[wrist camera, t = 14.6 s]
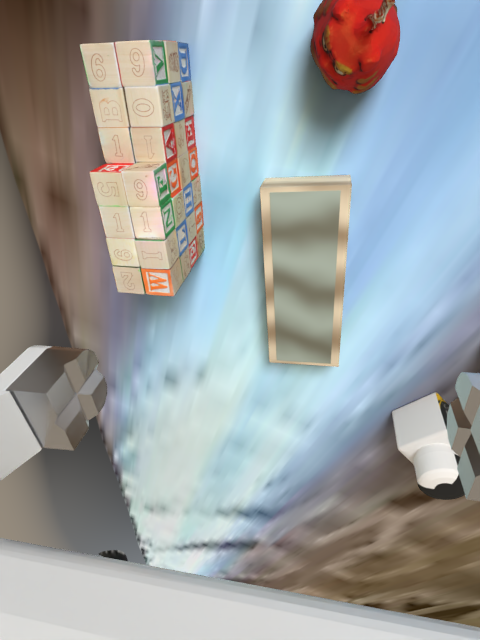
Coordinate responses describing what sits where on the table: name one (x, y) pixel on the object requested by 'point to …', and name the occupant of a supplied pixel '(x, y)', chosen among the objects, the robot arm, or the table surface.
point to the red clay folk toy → (355, 42)
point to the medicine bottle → (429, 446)
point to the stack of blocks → (146, 162)
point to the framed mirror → (305, 266)
